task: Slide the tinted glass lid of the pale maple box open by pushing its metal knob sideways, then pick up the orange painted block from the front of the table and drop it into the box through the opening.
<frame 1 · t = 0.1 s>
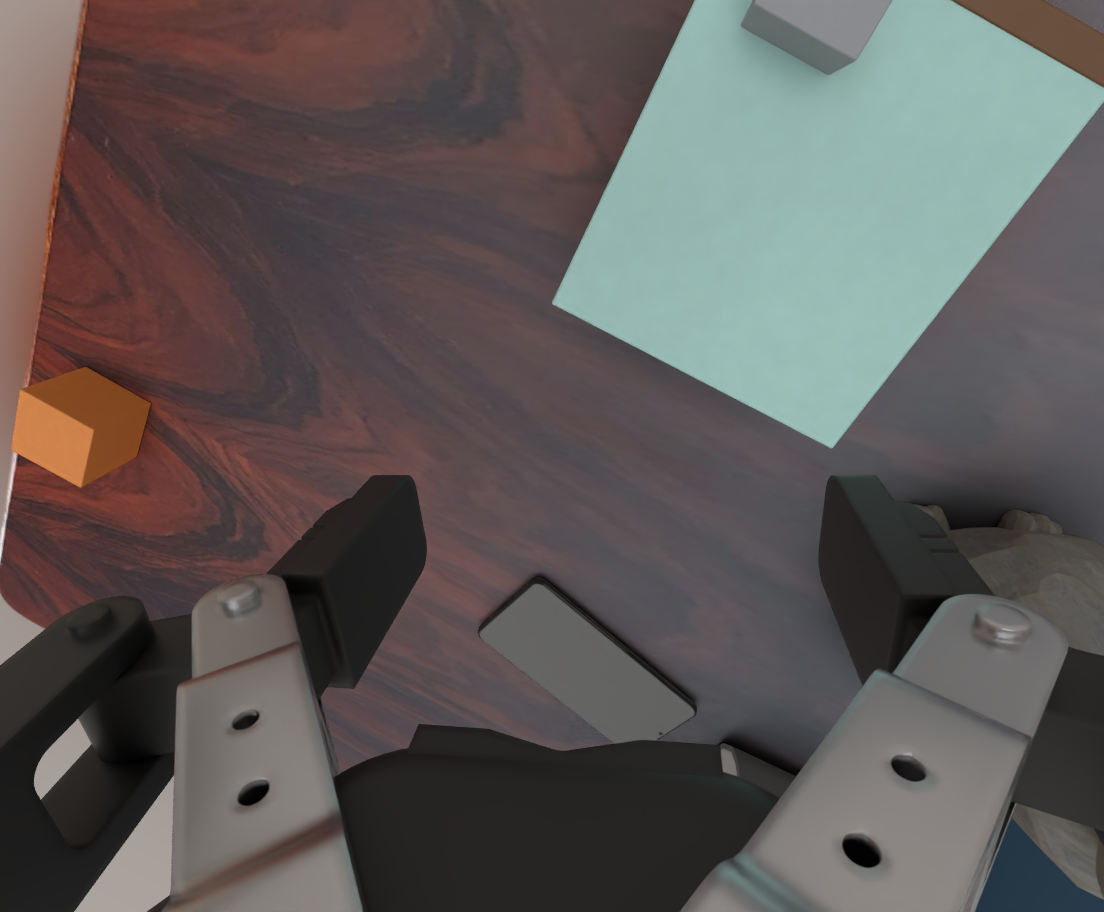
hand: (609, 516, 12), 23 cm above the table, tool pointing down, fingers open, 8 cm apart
block: (112, 412, 41), on the table
smartphone: (588, 663, 44), on the table
sculpture: (1067, 828, 43), on the table
alarm clock: (740, 818, 48), on the table
figurine: (948, 589, 37), on the table
glass lid: (814, 198, 20), point 11 cm above the table, slide at 0.0 cm
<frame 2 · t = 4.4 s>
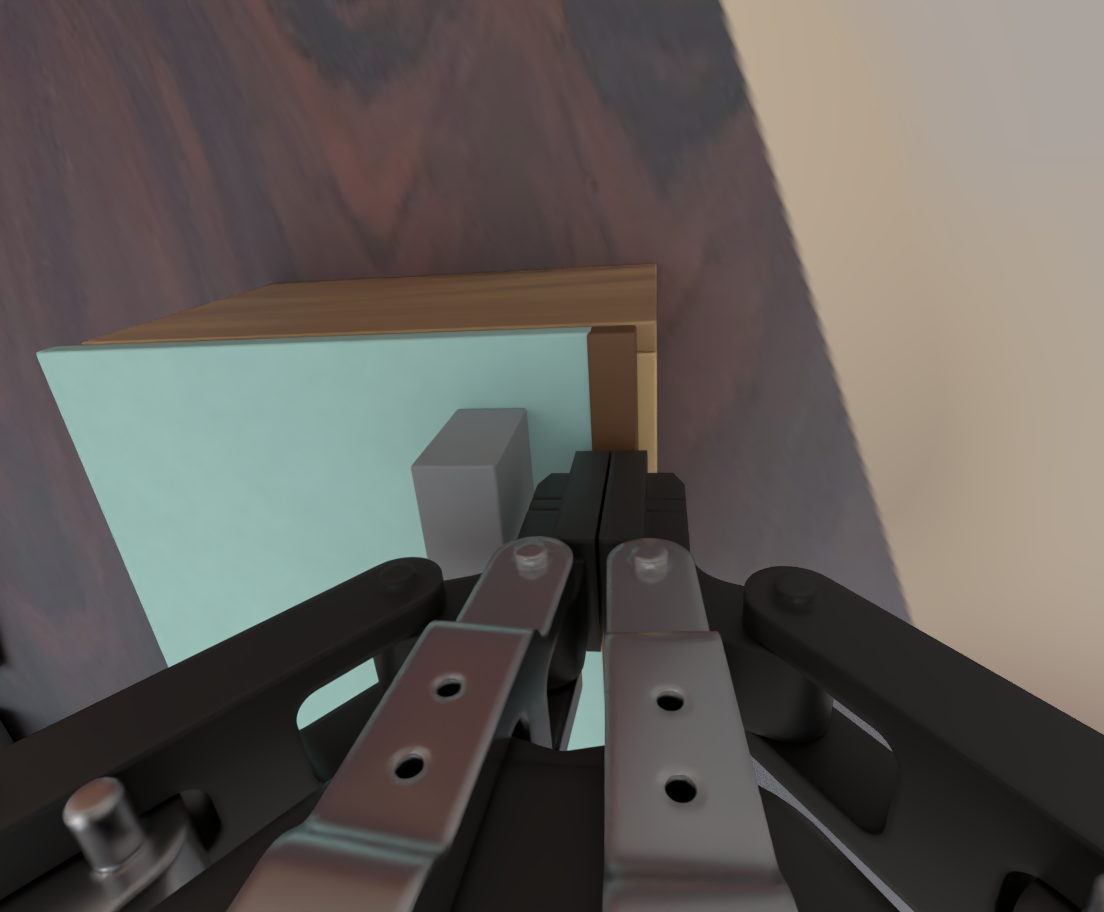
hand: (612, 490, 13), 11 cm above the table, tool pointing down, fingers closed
maple box: (475, 432, 25), on the table
glass lid: (342, 603, 15), point 11 cm above the table, slide at 0.4 cm, touching gripper
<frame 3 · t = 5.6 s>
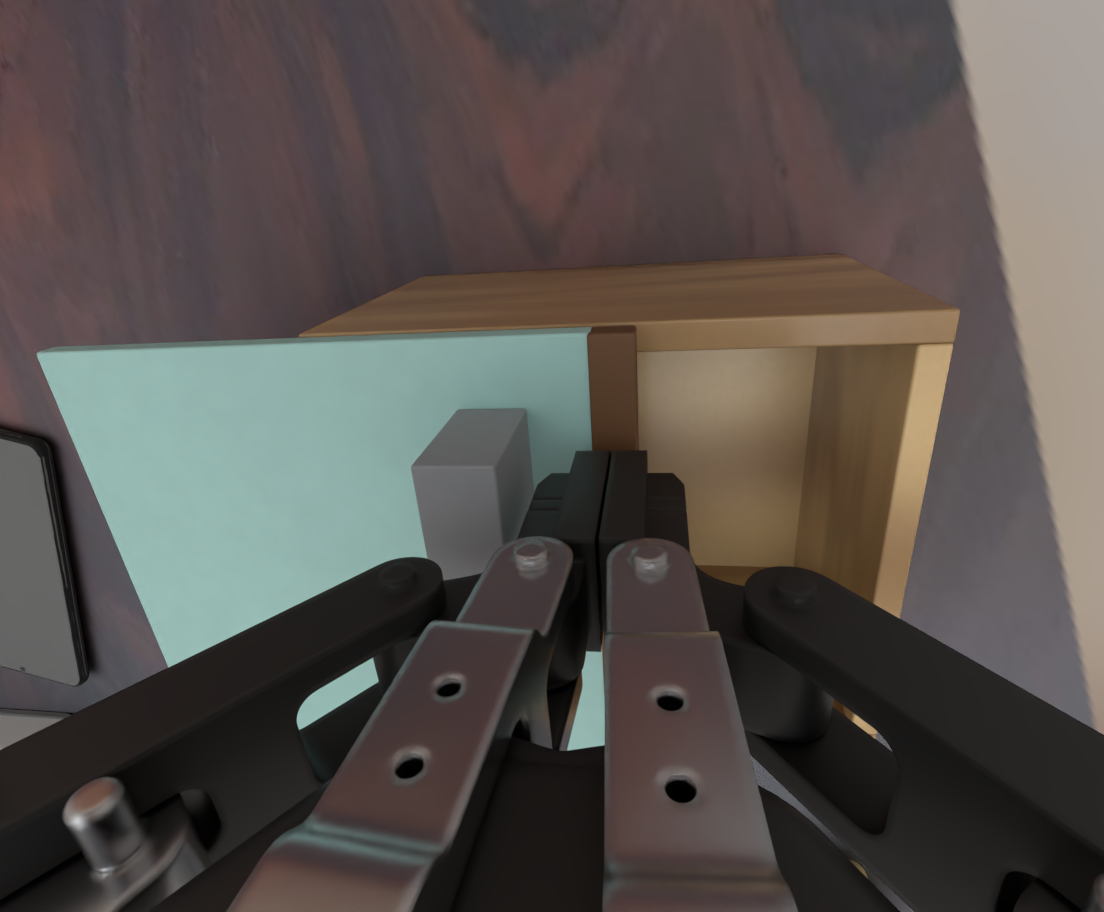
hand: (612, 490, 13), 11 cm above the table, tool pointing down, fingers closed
smartphone: (18, 551, 32), on the table
alarm clock: (34, 770, 40), on the table
maple box: (624, 431, 24), on the table
glass lid: (342, 603, 15), point 11 cm above the table, slide at 6.4 cm, touching gripper
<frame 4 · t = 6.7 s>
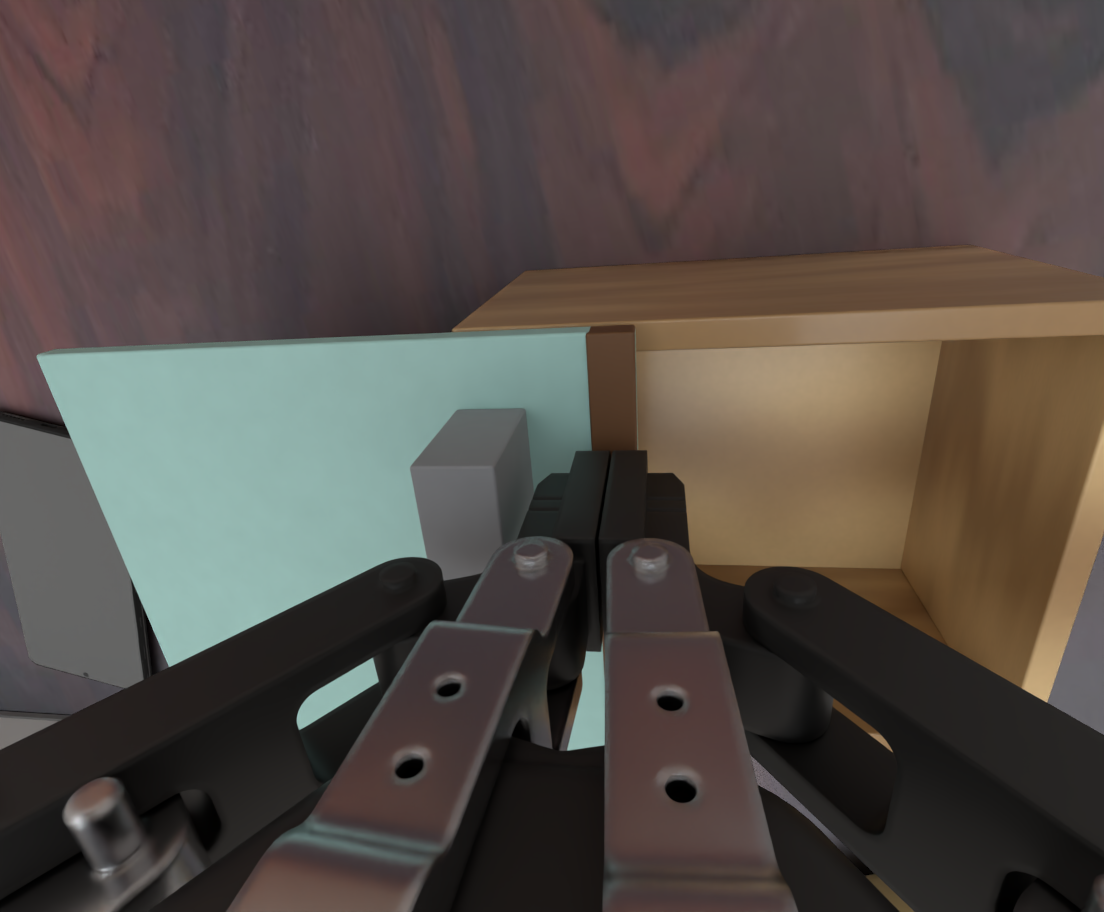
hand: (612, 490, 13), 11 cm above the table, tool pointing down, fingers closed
smartphone: (84, 555, 31), on the table
alarm clock: (88, 777, 40), on the table
toy pig: (869, 887, 33), on the table
maple box: (727, 430, 23), on the table
glass lid: (343, 604, 15), point 11 cm above the table, slide at 10.2 cm, touching gripper
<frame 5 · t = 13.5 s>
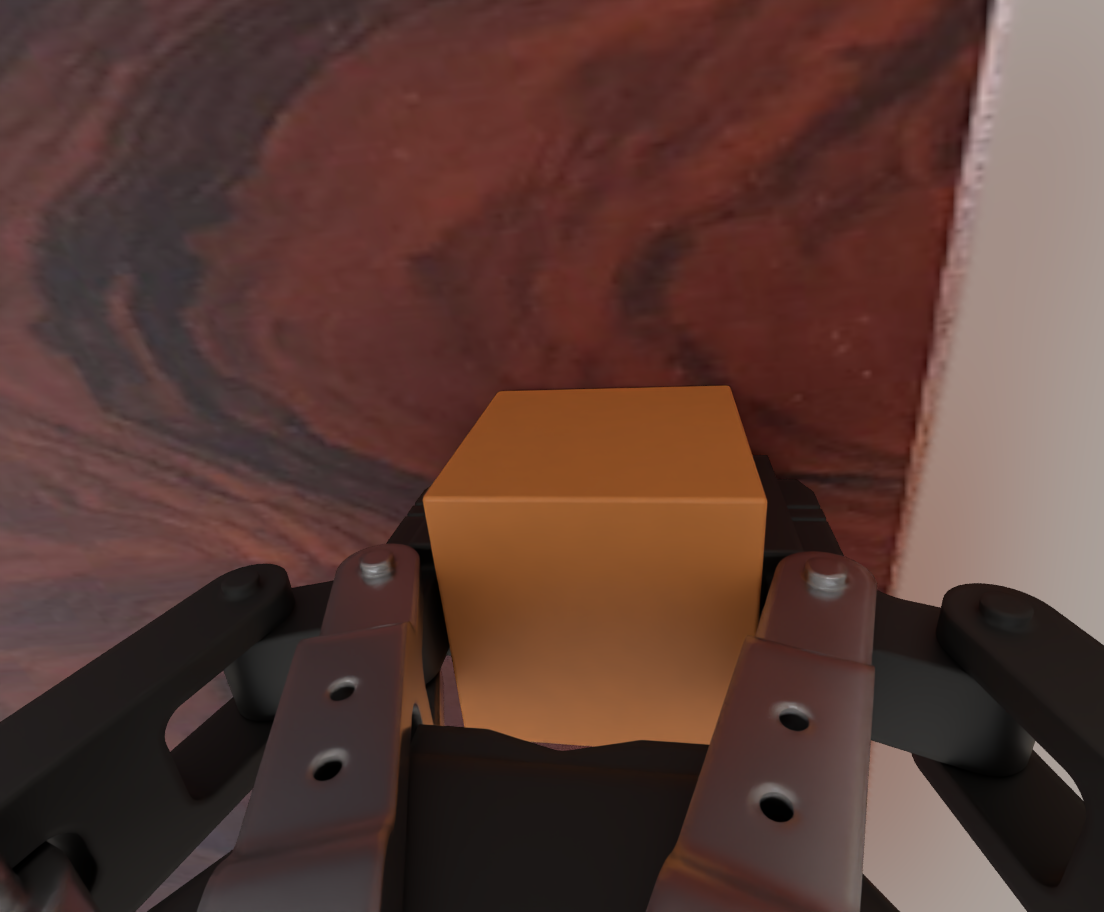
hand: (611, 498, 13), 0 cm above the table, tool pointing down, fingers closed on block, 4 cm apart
block: (614, 490, 13), on the table, touching gripper
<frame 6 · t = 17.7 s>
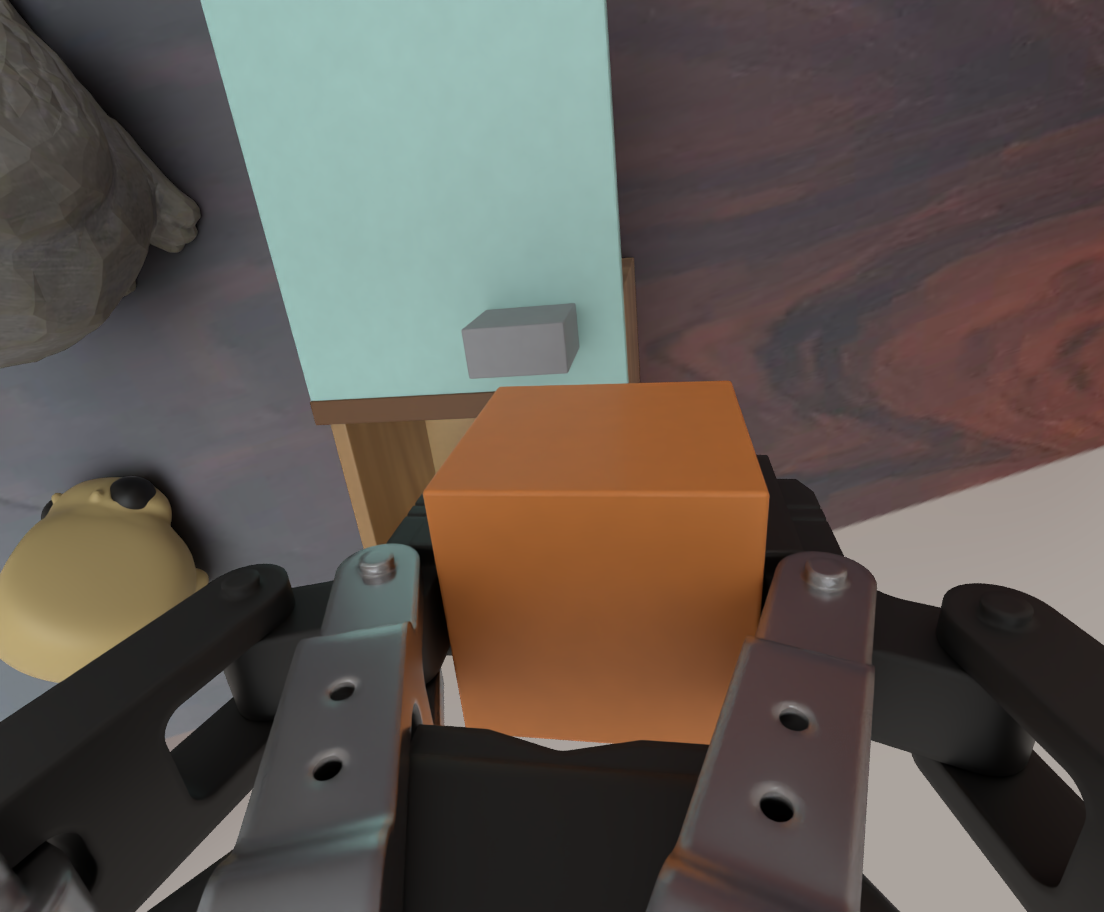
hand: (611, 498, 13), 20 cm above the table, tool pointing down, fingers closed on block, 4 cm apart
block: (615, 486, 13), point 19 cm above the table, touching gripper
figurine: (81, 171, 32), on the table
toy pig: (160, 539, 42), on the table
maple box: (525, 406, 34), on the table
glass lid: (418, 219, 20), point 11 cm above the table, slide at 10.2 cm
when the fingers open (6 cm above the table, at t = 22.1 s): block drops 5 cm, resting on maple box.
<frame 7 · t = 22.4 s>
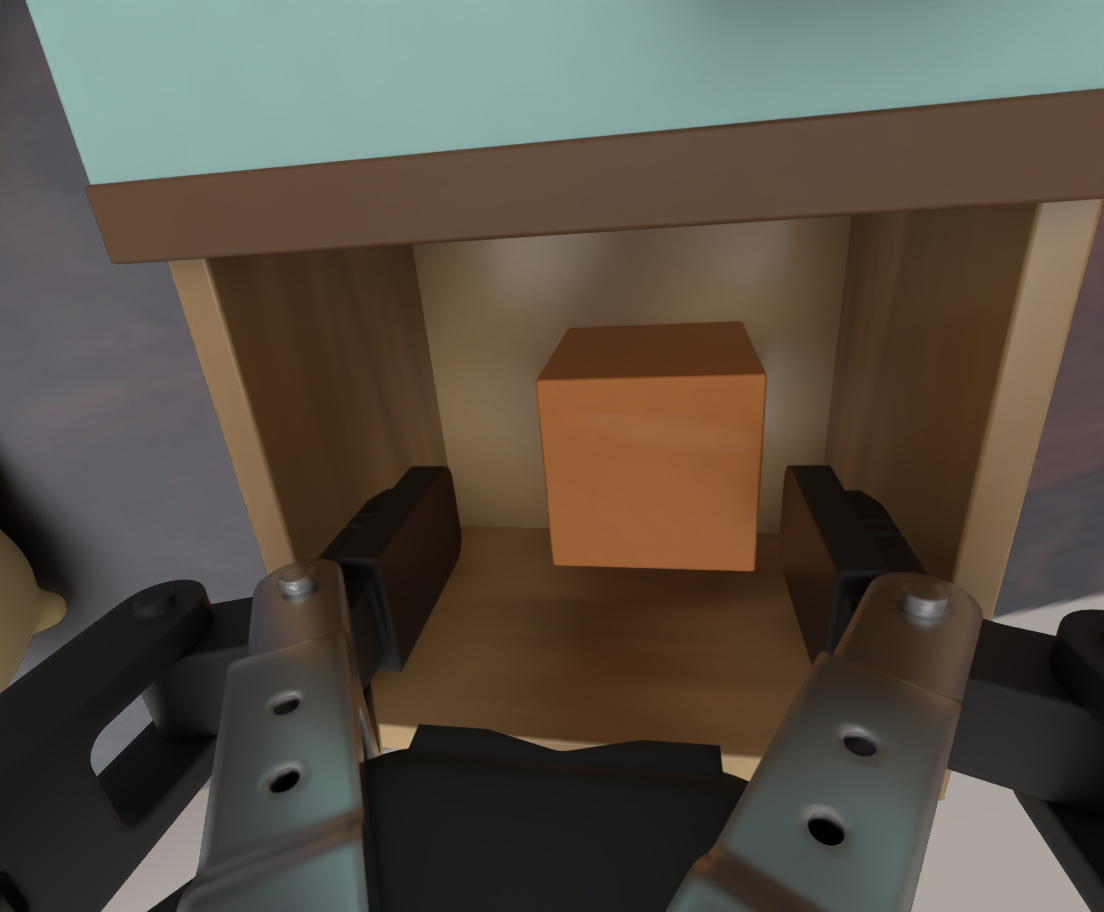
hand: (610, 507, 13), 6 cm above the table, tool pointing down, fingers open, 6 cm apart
block: (654, 405, 17), point 1 cm above the table, touching maple box
maple box: (622, 314, 17), on the table
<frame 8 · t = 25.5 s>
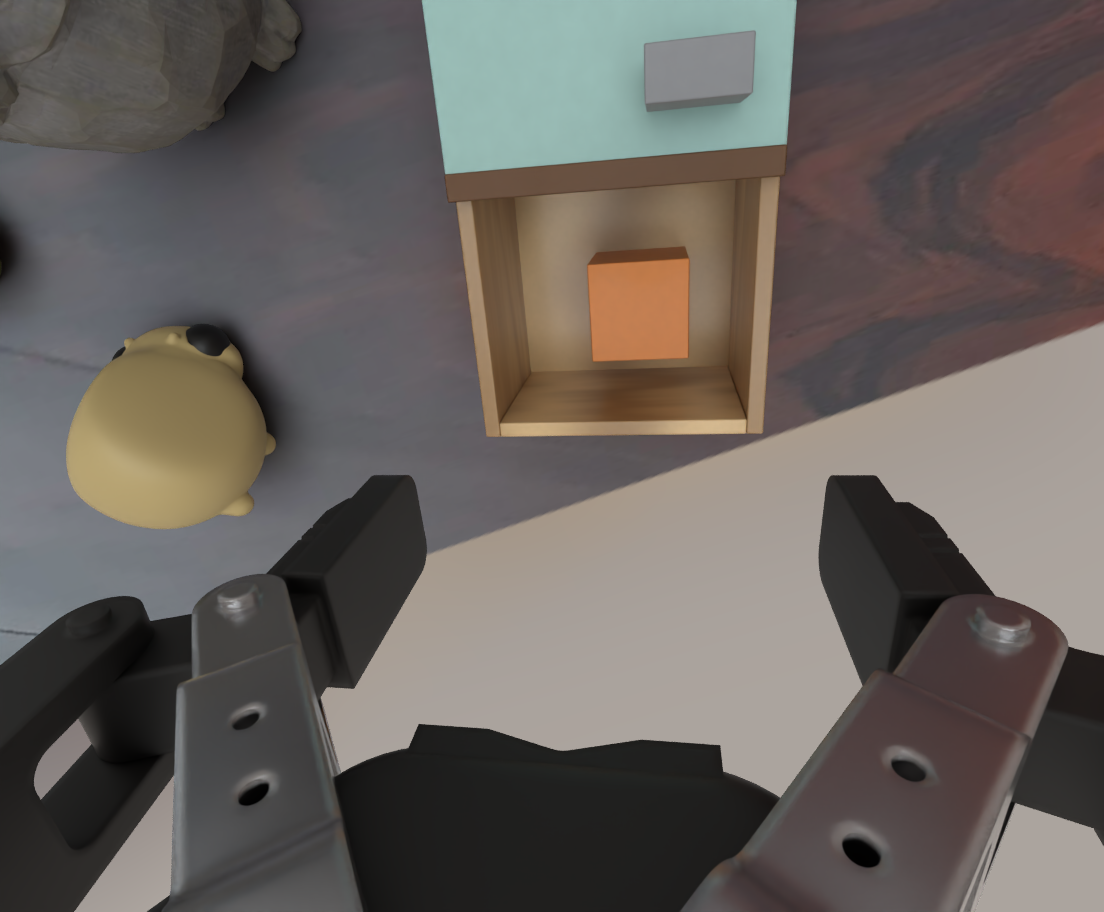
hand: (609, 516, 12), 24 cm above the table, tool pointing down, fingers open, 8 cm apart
block: (641, 294, 33), point 1 cm above the table, touching maple box
toy pig: (226, 403, 41), on the table
maple box: (624, 245, 33), on the table
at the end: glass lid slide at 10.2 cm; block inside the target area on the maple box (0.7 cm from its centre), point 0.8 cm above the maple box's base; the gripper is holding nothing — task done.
